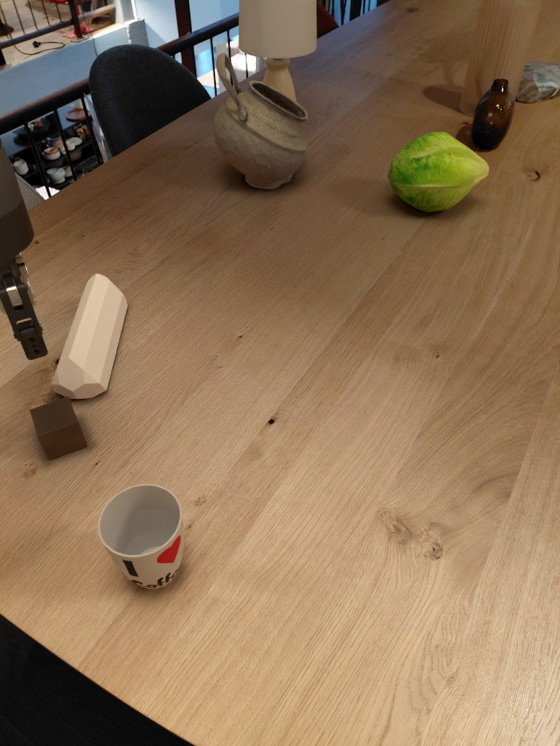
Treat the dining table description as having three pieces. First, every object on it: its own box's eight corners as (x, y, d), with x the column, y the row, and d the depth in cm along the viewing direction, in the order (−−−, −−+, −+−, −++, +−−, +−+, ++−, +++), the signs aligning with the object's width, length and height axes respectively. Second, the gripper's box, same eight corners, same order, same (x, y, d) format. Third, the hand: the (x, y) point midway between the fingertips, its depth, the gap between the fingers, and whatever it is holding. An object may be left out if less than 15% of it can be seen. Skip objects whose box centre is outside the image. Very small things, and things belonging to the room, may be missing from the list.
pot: (200, 189, 125) (187, 65, 107) (240, 153, 139) (235, 37, 121) (286, 208, 119) (288, 80, 102) (320, 168, 133) (326, 49, 115)
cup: (125, 614, 59) (105, 569, 52) (111, 547, 64) (91, 498, 57) (201, 586, 61) (191, 539, 54) (181, 523, 66) (170, 473, 59)
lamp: (314, 118, 155) (322, -50, 129) (310, 146, 142) (318, -34, 116) (247, 115, 156) (241, -52, 130) (236, 142, 143) (228, -36, 117)
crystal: (69, 282, 93) (29, 387, 76) (102, 263, 91) (68, 367, 74) (100, 312, 98) (69, 417, 81) (133, 295, 96) (107, 399, 79)
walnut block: (48, 461, 73) (37, 436, 69) (40, 434, 76) (29, 409, 72) (87, 446, 74) (78, 421, 71) (78, 420, 77) (68, 396, 74)
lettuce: (489, 220, 117) (501, 166, 105) (390, 231, 119) (391, 179, 108) (477, 172, 124) (486, 117, 113) (384, 183, 127) (384, 130, 115)
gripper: (-74, 176, 55) (-16, 308, 67) (-58, 245, 47) (6, 384, 58) (7, 161, 58) (49, 291, 69) (36, 224, 49) (79, 361, 61)
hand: (30, 333), depth 64 cm, fingers open, 8 cm apart
